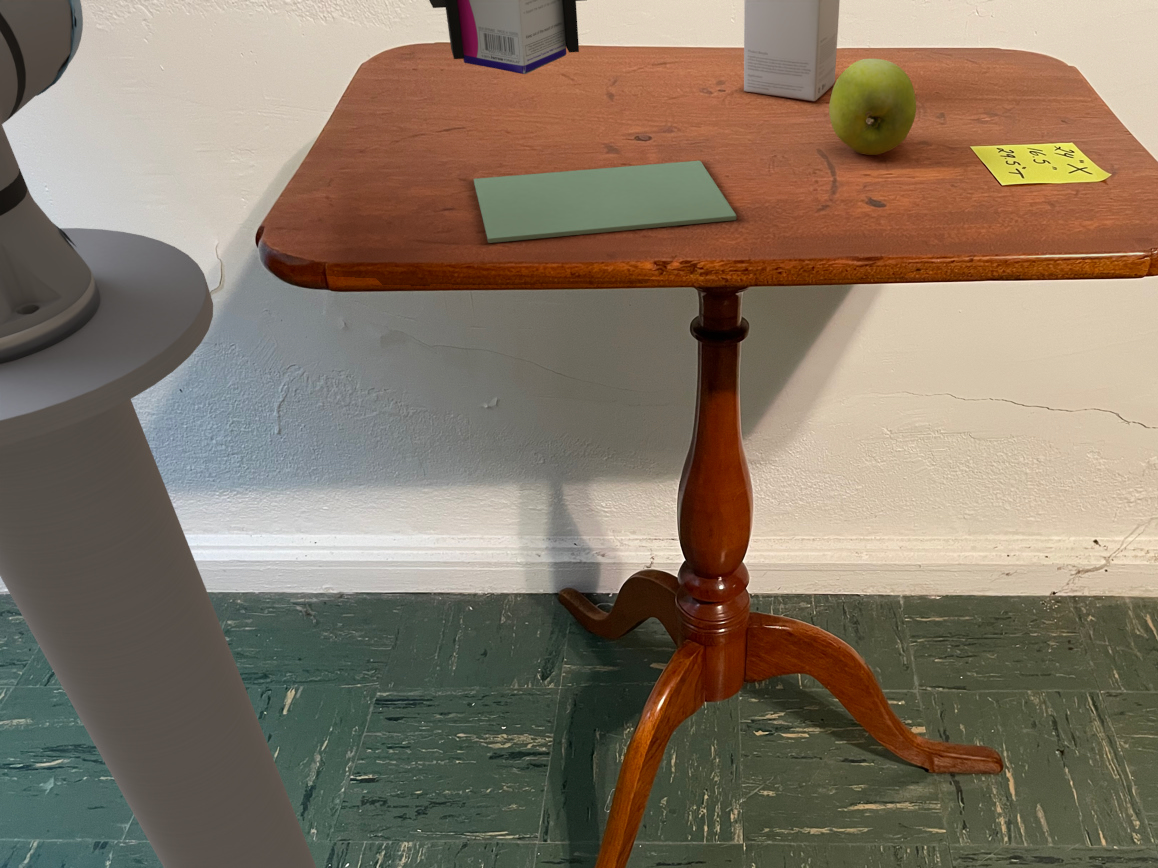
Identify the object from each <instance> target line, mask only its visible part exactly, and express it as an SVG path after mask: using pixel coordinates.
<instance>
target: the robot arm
mask: <svg viewBox="0 0 1158 868" xmlns="http://www.w3.org/2000/svg"><path fill="white" fill-rule="evenodd" d="M584 1H586V0H563V11H564V26H565V39H566V50H567V51H568V53H580V46H579V44H580V43H579V29H578V14H577V13H578V12H577V2H584ZM428 2H429V3H430V5H431V7H432V9H443V8H445V14H446V20H447V21H446V22H447V29H448V36H449V43H450V50H451V53H452V57H453V60H463V59H464V52H463V44H462V36H461V28H460V21H459V13H458V5H457V0H428ZM82 7H83V6H82V2H81V0H0V364H2V363H6V362H9V361H13V360H16V359H19V358H22V357H25V356H28V355H31V354H33V353H36V352H39V351H41V350H43V349H46V348H48V347H50V346H52V345H54V344H56V343H58V342H60V341H62V340H64V339H65V338H67V337H69V336H70V335H72V334H73V333H75V332H76V331H77V330H79V329H80V328H81V327H83V326H84V325H85V324H86V323H87V322H88V321H89V320H90V319H91V318H92V317H93V316H94V314H95V313H96V311H97V309H98V307H99V305H100V292H99V290H98V287H97V284H96V282H95V279H94V277H93V274H92V272H91V269H90V268H89V266H88V265H87V264H86V263H85V261H84V260H83V259H82V258H81V256H80V255H79V254H78V253H77V252H76V250H75V249H74V248H73V247H72V246H71V244H70V243H69V242H68V241H70V242H71V243H72V244H73V245H75V244H74V243H73V242H72V241H71V239H70V238H69V237H68V236H67V235H66V233H65V232H64V231H62V230H61V229H60V228H61V227H59V226H58V225H56V223H54V222H53V221H52V220H51V219H50V217H48V215H47V214H46V213H45V212H44V210H43V209H42V208H41V207H40V206H39V205H38V203H37V202H36V201H35V200H34V198H33V196H32V194H31V192H30V190H29V187H28V185H27V183H26V181H25V178H24V176H23V173H22V170H21V168H20V165H19V163H18V160H17V158H16V155H15V153H14V150H13V148H12V146H11V144H10V140H9V138H8V136H7V133H6V131H5V128H4V126H3V125H4V123H7V122H8V121H9V120H10V119H11V118H12V117H13V116H14V115H16V114H17V113H18V112H19V111H20V110H21V109H22V108H23V107H25V106H26V105H27V104H29V102H30V101H32V100H33V99H34V98H35V97H38V96H40V95H41V94H44V93H45V92H46V91H48V90H49V89H50V88H51V87H53V86H54V85H55V84H57V82H58V81H60V80H61V78H62V76H63V75H64V73H65V72H66V71H67V69H68V66H69V65H70V63H71V62H72V61H73V59H74V57H75V56H76V54H77V52H78V50H79V47H80V44H81V40H82V36H83V35H82V34H83V29H84V27H83V26H84V17H83V8H82ZM67 240H68V241H67ZM75 246H76V245H75Z"/></svg>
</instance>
